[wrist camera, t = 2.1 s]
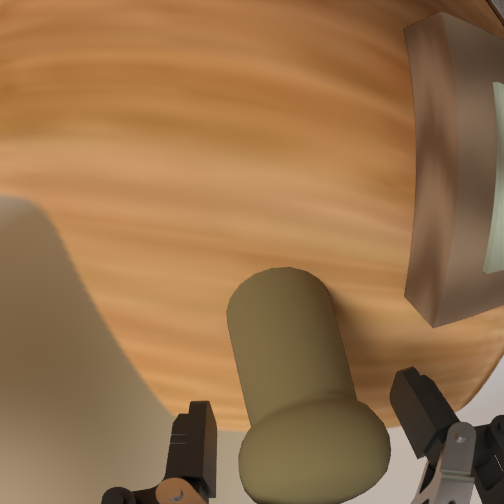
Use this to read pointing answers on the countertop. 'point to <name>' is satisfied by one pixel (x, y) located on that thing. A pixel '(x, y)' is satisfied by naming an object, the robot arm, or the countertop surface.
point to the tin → (498, 8)
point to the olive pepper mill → (300, 396)
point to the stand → (457, 169)
